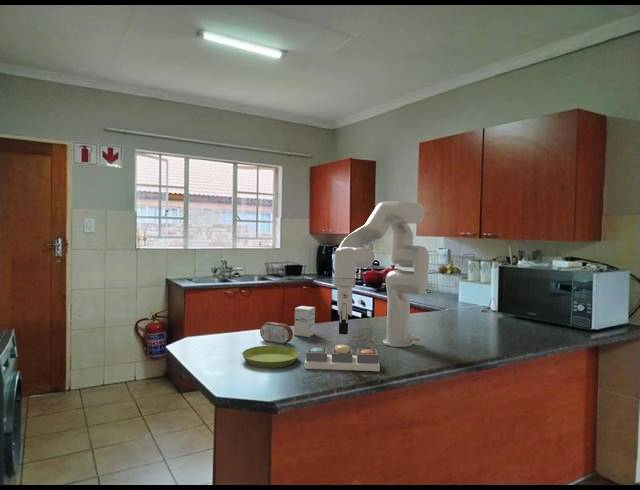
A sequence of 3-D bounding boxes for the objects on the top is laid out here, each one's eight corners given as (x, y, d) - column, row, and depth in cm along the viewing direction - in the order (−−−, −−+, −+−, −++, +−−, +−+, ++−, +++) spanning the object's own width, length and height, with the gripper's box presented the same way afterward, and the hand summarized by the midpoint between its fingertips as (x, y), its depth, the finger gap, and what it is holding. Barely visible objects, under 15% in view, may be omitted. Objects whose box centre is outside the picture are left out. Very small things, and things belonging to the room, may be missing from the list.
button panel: (376, 361, 161) (377, 348, 161) (379, 371, 150) (379, 356, 150) (306, 359, 163) (307, 345, 162) (304, 368, 152) (304, 354, 151)
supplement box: (293, 335, 198) (294, 307, 198) (300, 332, 205) (300, 305, 205) (308, 337, 195) (309, 309, 195) (314, 333, 202) (315, 306, 202)
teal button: (324, 356, 159) (324, 348, 159) (323, 360, 154) (323, 352, 154) (310, 355, 159) (310, 347, 159) (309, 359, 154) (309, 351, 154)
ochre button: (348, 353, 159) (349, 345, 159) (349, 357, 154) (349, 348, 154) (335, 352, 159) (335, 344, 159) (334, 356, 154) (335, 348, 154)
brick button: (373, 358, 158) (373, 349, 158) (374, 362, 153) (374, 353, 153) (359, 357, 159) (360, 349, 158) (360, 361, 154) (360, 353, 154)
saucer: (249, 373, 146) (250, 364, 146) (236, 356, 165) (236, 348, 165) (307, 367, 154) (307, 358, 154) (288, 351, 173) (288, 343, 173)
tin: (293, 343, 184) (293, 324, 184) (289, 345, 181) (289, 325, 181) (262, 339, 190) (262, 320, 190) (258, 341, 187) (259, 321, 187)
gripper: (356, 285, 148) (354, 339, 148) (354, 280, 163) (352, 329, 163) (334, 284, 148) (332, 338, 148) (334, 280, 163) (332, 328, 163)
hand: (343, 333), depth 156 cm, fingers closed
